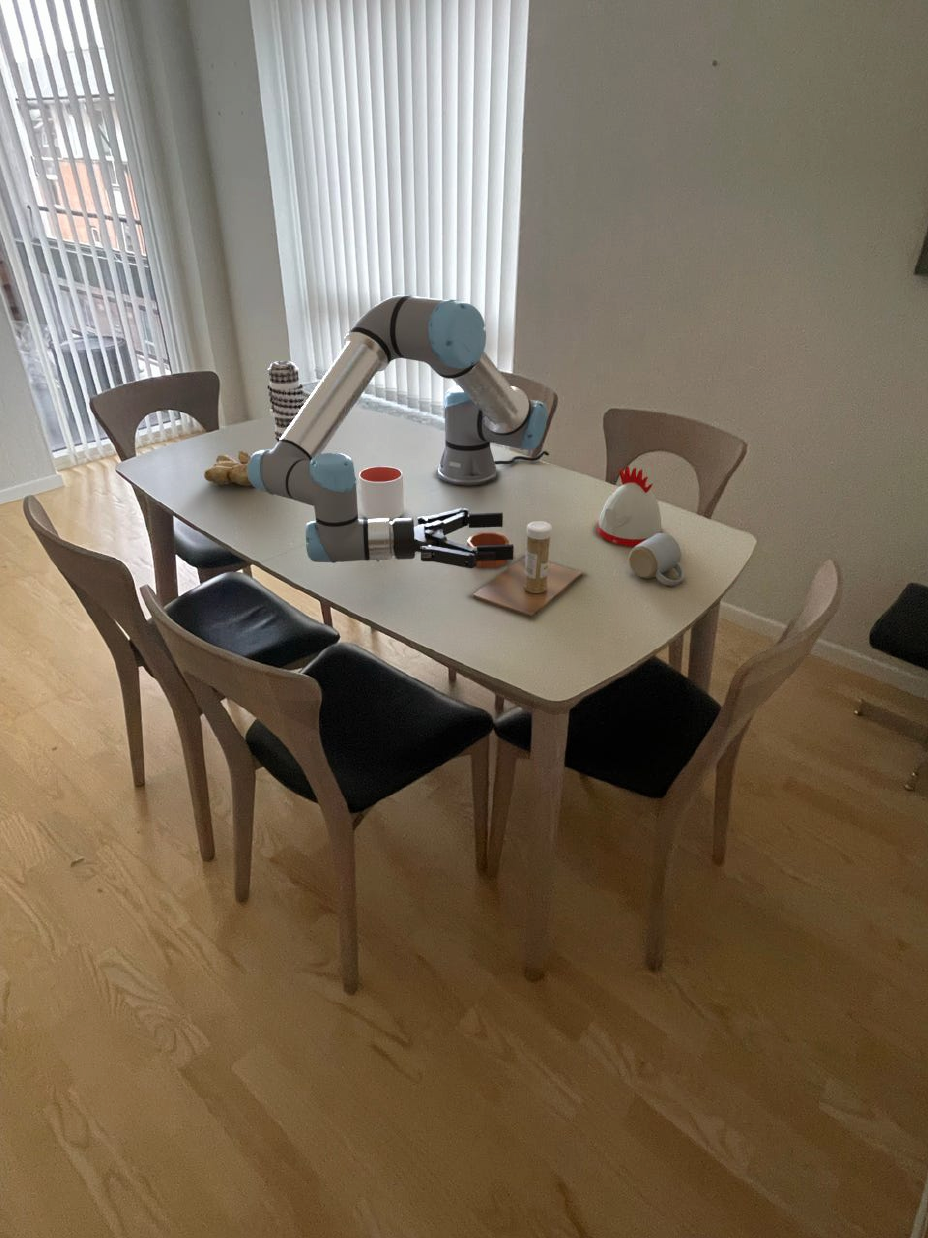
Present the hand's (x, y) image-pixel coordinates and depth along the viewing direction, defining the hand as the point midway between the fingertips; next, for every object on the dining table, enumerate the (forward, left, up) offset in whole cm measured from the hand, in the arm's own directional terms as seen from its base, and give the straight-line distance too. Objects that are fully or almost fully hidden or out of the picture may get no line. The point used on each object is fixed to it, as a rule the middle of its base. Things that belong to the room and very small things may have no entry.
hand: (507, 535), depth 137 cm
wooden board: (-5, +2, -12) cm, 13 cm away
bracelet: (-10, -11, -12) cm, 19 cm away
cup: (-14, -43, -12) cm, 46 cm away
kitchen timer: (-39, +8, -12) cm, 42 cm away
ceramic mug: (-24, +21, -12) cm, 34 cm away
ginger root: (-7, -86, -12) cm, 87 cm away
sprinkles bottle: (-4, +4, -12) cm, 13 cm away
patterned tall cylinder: (-30, -89, -12) cm, 94 cm away
